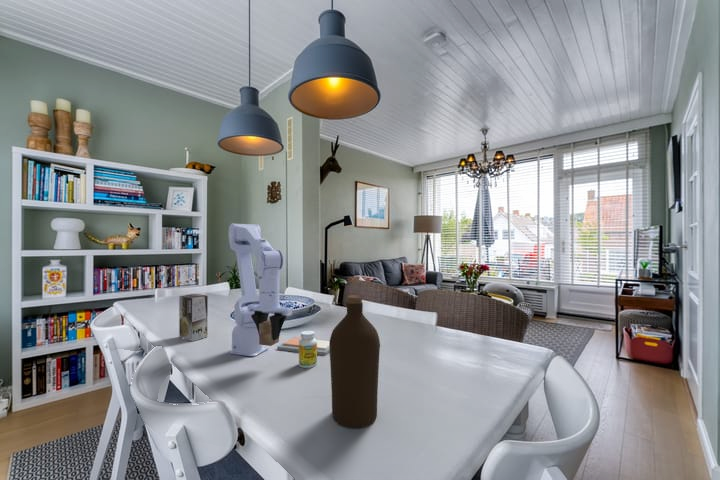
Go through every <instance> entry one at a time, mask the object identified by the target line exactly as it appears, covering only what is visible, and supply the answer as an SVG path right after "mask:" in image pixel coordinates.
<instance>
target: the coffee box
mask: <svg viewBox="0 0 720 480" xmlns="http://www.w3.org/2000/svg"><path fill="white" fill-rule="evenodd" d="M178 299H179V301H178V302H179V304H178V306H179V308H178V311H179V313H178V316H179V319H178V321H179V323H178V325H179V328H178V329H179V330H178V331H179V333H178V335H179V337H181V338H180V339H182V338H184V339H183V340H186V339H187V340H186V341H189V340H190V342H195V341H198V339H199V340H202V339H201V338H203V339H206V338H205V337H207V338H208V319H209V318H208V315H209V314H208V307H209V306H208V305H209V304H208V301H209V300H208V299H209V296H208V294H207V295H206V294H198V293H191V294H185V295H179V296H178ZM179 337H178V338H179ZM194 340H195V341H194Z"/></svg>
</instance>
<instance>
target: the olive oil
mask: <svg viewBox="0 0 720 480" xmlns="http://www.w3.org/2000/svg"><path fill="white" fill-rule="evenodd" d="M346 299H347V302H346V315H345V316H344V317H343V318H342V319H341V320H340V321H339V322H338V324H337V325H336V326H335V327H333V329H332V332H331V334H330V338H329V341H330V343H329V347H330V352H329V362H330V378H331V379H330V385H331V386H330V387H331V415H332V419H333V421H334V422H335V423H336V424H337V425H339V426H340V427H341V426H342V427H344V428H347V429H348V428H350V429H361V428H365V427H368V426H370V425H371V424H373V422H375V421H376V419H377V416H378V394H379V393H378V391H379V367H380V353H381V352H380V351H381V350H380V348H381V341H380V336H379V333H378V331H377V329H376V328H375V326H374V325H373V324H372V323H371V322H370V320H369V319H368V318H366V316H365V315H364V314H363V311H364V310H363V309H364V307H363V305H364V303H363V296H361V295H357V294H356V295H354V294H352V295H347V297H346Z"/></svg>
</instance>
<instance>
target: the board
mask: <svg viewBox="0 0 720 480" xmlns="http://www.w3.org/2000/svg"><path fill="white" fill-rule="evenodd" d="M301 339H302V338H301V337H296V336H293V337H292V338H290V339H288V340H286V341H285V342H283V343H281V344H279V345H278V346H276V347H277V348H276V349H277V350H279V351H280V350H281V351H287V352H293V353H294V352H295V353H299V341H300V340H301ZM316 340H317V356H318V355H319V356H327V355H329V354H330V347H329V343H330V340H323V339H316Z"/></svg>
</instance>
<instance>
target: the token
mask: <svg viewBox="0 0 720 480" xmlns="http://www.w3.org/2000/svg"><path fill="white" fill-rule="evenodd" d="M279 342H280V338H279V339H276V340H273V338H272V326H271V321H270V319H267V321H265V322H262V323H260V324H259V345H263V346H266V347H268V346H269V347H272V346H274V345H277V343H279Z"/></svg>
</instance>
